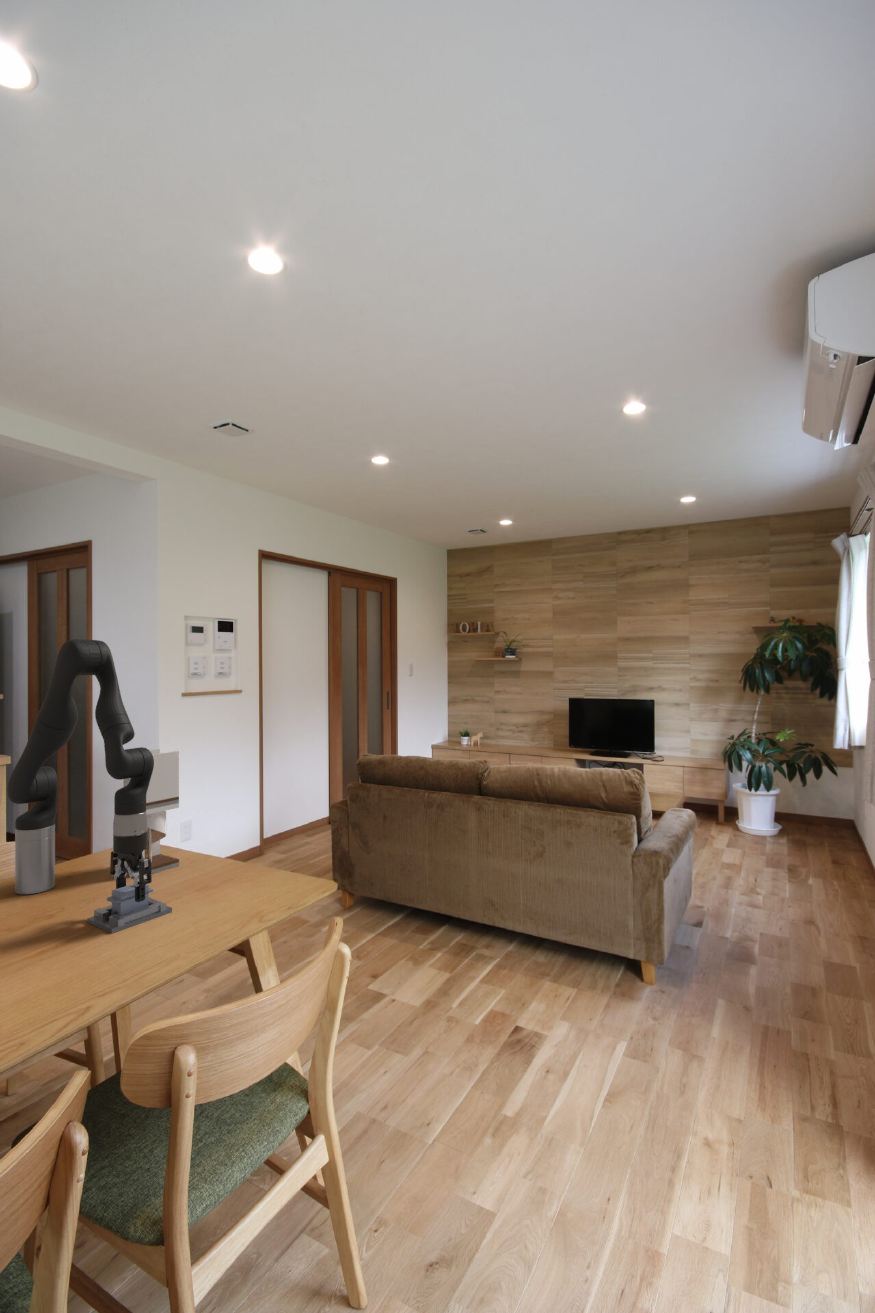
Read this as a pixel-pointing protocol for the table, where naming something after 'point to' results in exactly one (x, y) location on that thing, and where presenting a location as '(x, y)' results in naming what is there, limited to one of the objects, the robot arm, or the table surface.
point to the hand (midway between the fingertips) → (130, 897)
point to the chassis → (127, 916)
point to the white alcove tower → (160, 806)
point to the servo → (127, 899)
